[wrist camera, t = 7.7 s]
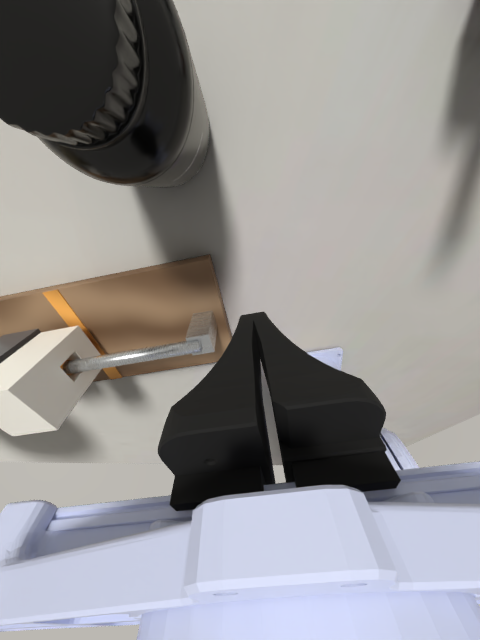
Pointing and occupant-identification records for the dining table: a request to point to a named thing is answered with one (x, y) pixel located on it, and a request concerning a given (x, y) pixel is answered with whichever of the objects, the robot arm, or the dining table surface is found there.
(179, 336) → the board
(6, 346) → the block
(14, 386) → the sleeve
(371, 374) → the dining table surface
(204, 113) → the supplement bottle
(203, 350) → the rail
